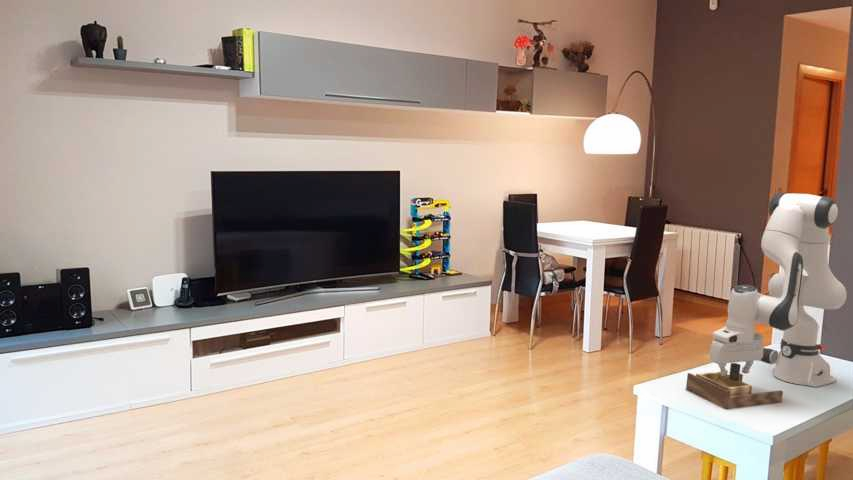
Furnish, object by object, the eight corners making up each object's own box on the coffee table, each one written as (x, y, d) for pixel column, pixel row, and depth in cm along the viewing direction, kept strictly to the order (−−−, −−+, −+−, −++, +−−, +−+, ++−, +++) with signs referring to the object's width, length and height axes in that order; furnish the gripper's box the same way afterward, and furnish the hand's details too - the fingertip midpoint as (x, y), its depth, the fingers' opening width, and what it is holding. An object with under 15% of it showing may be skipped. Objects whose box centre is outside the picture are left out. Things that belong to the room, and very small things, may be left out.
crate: (719, 388, 244) (722, 357, 242) (752, 403, 230) (756, 371, 229) (694, 390, 240) (697, 359, 238) (726, 406, 226) (730, 373, 225)
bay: (739, 387, 250) (741, 368, 249) (781, 405, 233) (783, 385, 232) (685, 392, 241) (687, 373, 240) (725, 412, 224) (727, 391, 223)
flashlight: (734, 353, 291) (736, 341, 291) (742, 352, 294) (743, 339, 294) (769, 364, 279) (771, 351, 278) (777, 362, 282) (779, 349, 281)
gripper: (755, 329, 240) (750, 368, 242) (708, 333, 233) (704, 373, 235) (770, 334, 234) (765, 374, 236) (723, 338, 227) (718, 379, 229)
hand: (734, 374), depth 235 cm, fingers open, 8 cm apart
